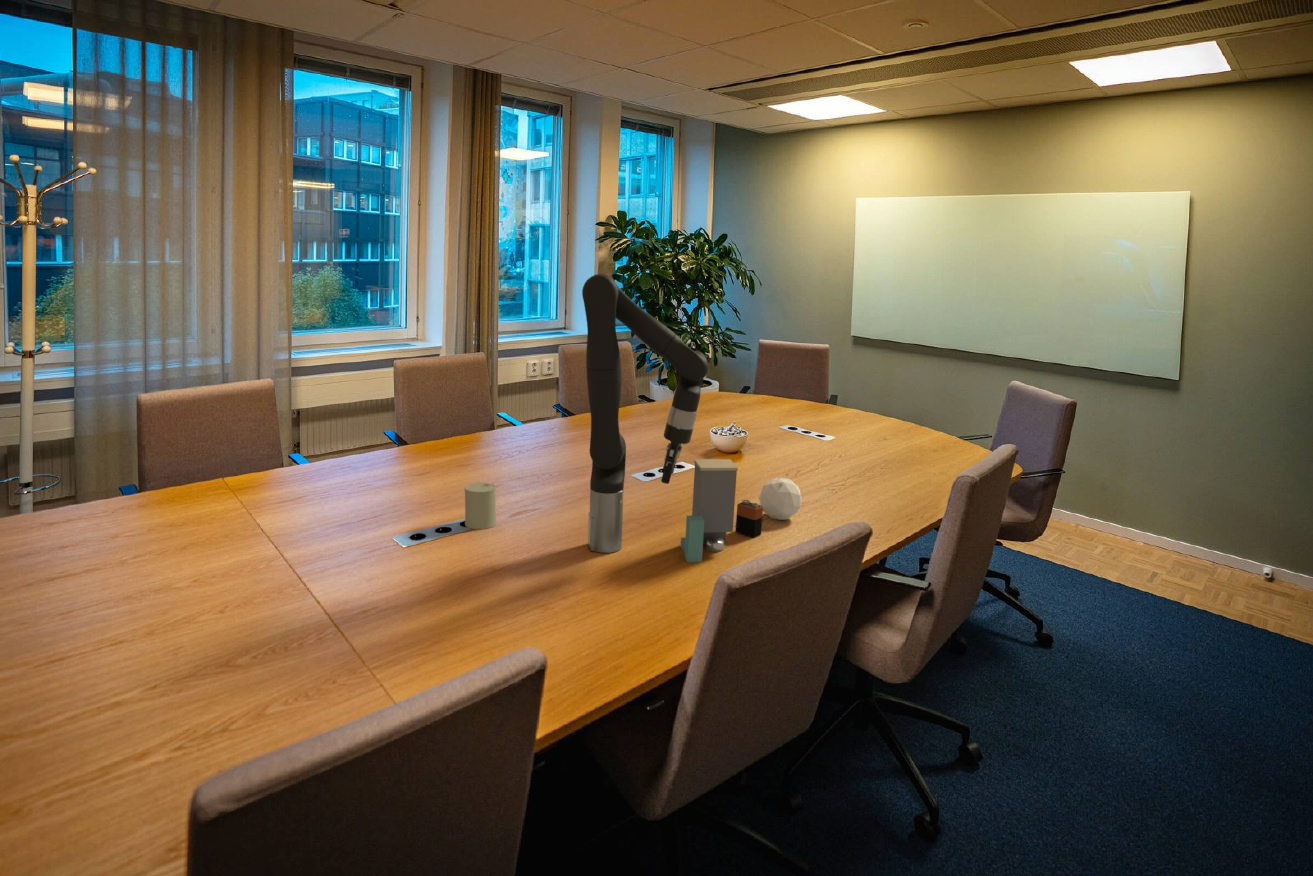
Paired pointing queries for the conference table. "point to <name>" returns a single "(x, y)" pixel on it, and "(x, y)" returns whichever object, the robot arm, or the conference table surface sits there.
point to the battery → (749, 518)
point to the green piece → (693, 539)
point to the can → (480, 505)
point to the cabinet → (715, 496)
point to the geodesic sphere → (780, 498)
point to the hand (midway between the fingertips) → (667, 477)
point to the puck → (715, 544)
